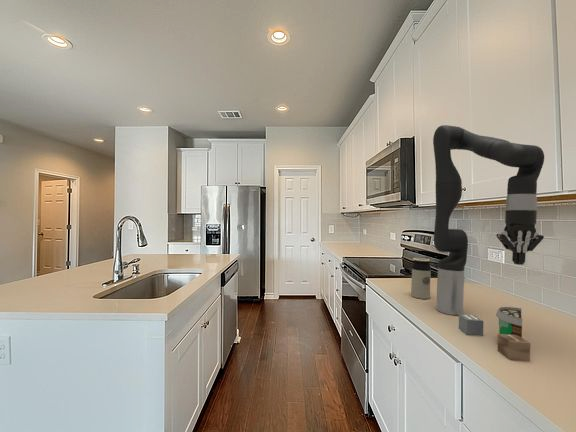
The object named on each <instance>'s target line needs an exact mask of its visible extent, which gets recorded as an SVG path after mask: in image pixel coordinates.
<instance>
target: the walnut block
mask: <svg viewBox="0 0 576 432" xmlns="http://www.w3.org/2000/svg"><path fill="white" fill-rule="evenodd" d="M497 352H498V353H499V354H500V355H503V356H504V357H505V358H506V359H508V360H510V361H516V362H517V361H520V362H530V360H531V359H530V358H531V342H529V341H527V340H526V339H524V338H521V337H519V336H517V335H509V334H499V333H498V334H497Z"/></svg>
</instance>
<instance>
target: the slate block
mask: <svg viewBox="0 0 576 432" xmlns="http://www.w3.org/2000/svg"><path fill="white" fill-rule="evenodd" d="M459 329H460V330H459ZM458 330H459V331H461V332H462V333H463V334H465V335H466V336H475V337H476V336H477V337H483V336H484V320H483V319H481V318H479V317H478V316H476V315H475V314H462V315H460V314H459V315H458Z"/></svg>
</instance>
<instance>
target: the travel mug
mask: <svg viewBox="0 0 576 432" xmlns="http://www.w3.org/2000/svg"><path fill="white" fill-rule="evenodd" d="M412 260H413V263H412V265H411V294H410V295H411V296H412V298H415V299H419V300H429V299H430V298H431V278H432V277H431V275H432V274H431V271H432V267H431V264H430V261H431V259H430V258H425V257H413V258H412Z"/></svg>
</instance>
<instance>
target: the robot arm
mask: <svg viewBox="0 0 576 432" xmlns="http://www.w3.org/2000/svg"><path fill="white" fill-rule="evenodd" d="M432 142H433V143H432V144H433V154H434V164H435V219H434V231H433V244H434V248H435V250H437V251H438V252H442V253H449V255H448V256H446V257H444V258H442V259H440V260H438V262H437V284H436V310H437V311H438V312H439V313H443V314H446V315H450V316H451V315H452V316H459V314H460V315H464V295H465V294H464V293H465V291H464V289H465V284H464V283H465V267H466V263H467V258H468V257H467V256H468V249H469V248H468V245H469V239H468V235H467V233H466V231H464V230H462V229H459V228H458V229H457V228H455V229H454V228H449V225H450V217H451V215H452V213H453V211H454V210H455V208H456V207H457V205H458V204H459V203H460V200H461V198H462V195H463V191H462V189H463V186H462V185H463V181H462V178H461V176H460V172H459V171H458V169H457V167H456V166H455V165H454V162H453V160H452V154H451V151H452V150H453V151H454V150H459V151H460V150H463V151H465V150H466V151H470V152H472V153H474V154H475V155H477V156H478V157H481V158H485V159H489V160H492V161H495V162H497V163H500V164H502V165H503V166H505V167H506V166H507V167H511V168H518V170H517V173H516V175H513V176H510V177H509V178H508V181H507V189H506V190H507V193H506V200H505V213H504V214H505V215H504V224H505V227H504V228H503V231H502V232H500V233H497V234H496V235H495V236H496V238H497V239H498V241H499V242H500V243H501V245H502V246H503V247H504V248H505V250H509V251H511V252H512V257H511V258H512V259H511V261H512V263H513V264H514V265H519V266H520V265H521V266H524V264H525V262H526V253H528V252H532V251H533V250H534V249H536V247H537V246H538V245H539V244H540V243H541V242H542V241H543V239H545V237H544V235H542V234H539V233H538V232H537V229H536V227H535V226H536V224H537V219H538V218H537V217H538V215H537V214H538V211H537V210H538V198H537V197H538V196H537V191H538V190H537V189H538V186H537V185H538V179H539V177H540V175H541V172H542V168H543V166H544V162H545V154H544V153H545V152H544V151H543V149H542V147H540V146H538V145H536V144H535V145H532V144H523V143H515V142H510V141H509V140H506V139H502V138H498V137H493V136H486V135H479V134H476V133H473V132H472V131H469V130H467V129H465V128H462V127H460V126H456V125H449V124H448V125H446V124H442V125H440V126H438V127H437V128H436V129H435V130H434V133H433V138H432Z"/></svg>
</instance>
